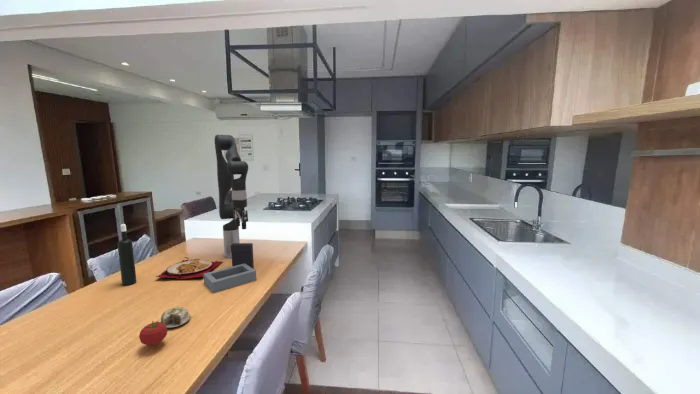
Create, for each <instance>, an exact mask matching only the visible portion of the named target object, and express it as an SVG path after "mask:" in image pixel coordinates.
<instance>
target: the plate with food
mask: <svg viewBox="0 0 700 394" xmlns="http://www.w3.org/2000/svg"><path fill="white" fill-rule="evenodd" d="M184 258H185V260H184V259H183V260H181V261H180V262H177V263H175V264H172V265H170V266H168V267H167V268H166V270H164V271H163V272H161V273H160V274H159V275H156V276H155V277H156V278H162V279H163V278H167V279H169V278H170V279H172V278H175V279H176V280H184V279H185V280H187V279H195V278H201V277H203V278H204V276H203V274H204V273H208V272H212V270H213V269H215V268H217V266H219V265H220V264H222V263H224V261H221V260H220V261H218V260H216V261H211V260H209V259H208V260H206V259H199V258H194V259H190V257H186V256H184Z"/></svg>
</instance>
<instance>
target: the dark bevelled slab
mask: <svg viewBox="0 0 700 394" xmlns="http://www.w3.org/2000/svg"><path fill="white" fill-rule="evenodd" d="M253 246H254V243H251V242H246V243H245V242H244V243H243V242H240V243H233V244H232V245H231V253H232V258H231V264H232V265H231V267H232V266H236V265H240V264H244V263H245V264H247V265H248V266H250V267H251V268H253V269H254V270H255V265H254V264H255V263H254V261H255V260H254V247H253Z"/></svg>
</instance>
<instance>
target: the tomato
mask: <svg viewBox="0 0 700 394" xmlns="http://www.w3.org/2000/svg"><path fill="white" fill-rule="evenodd" d="M167 335H168V328H167V327H166V325H165V324H164V323H161V321H159V320H158V321H155V322H154V321H152V322H151V323H148V324H146V325H145V326H143V328H142V329H141V330H140V331H139V335H138V339H139V340H140V343H141V344H143V345H145V346H147V347H153V346H156V345H158V344H160V343H161V342H162V341H164V340H165V338H166V336H167Z"/></svg>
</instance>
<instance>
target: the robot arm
mask: <svg viewBox="0 0 700 394" xmlns="http://www.w3.org/2000/svg"><path fill="white" fill-rule="evenodd" d="M214 150H215V157H216V169H217V170H216V174H217V175H216V176H217V187H218V213H219V218H220V219H221V220H230V219H231V220H230V221H228V222H227V223H225V224H223V225H222V236H223V250H224V251H223V252H224V253H223V255H224V257H225V258H228V259H232V253H231V245H232V244H233V243H241V242H240V228H239V227H241V230H246V229H247V222H249V216H248V215H249V213H248V210H247V209H246V210H245V208H246V207H248V196H247V185H246V182H247V176H248V171H249V164H248V163H247V162H246V161H244V160H243V161H242V158H241V157H240V155H239V153H238V147H237V143H236V140H235V137H234V136H233V135H230V134H215V136H214ZM223 151H226V153H225V157H224V155H223ZM235 175H240V176H239V177H238V178H235ZM230 192H231V203H226V204H225V202H226V198H227V196H228V195H229V193H230Z"/></svg>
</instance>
